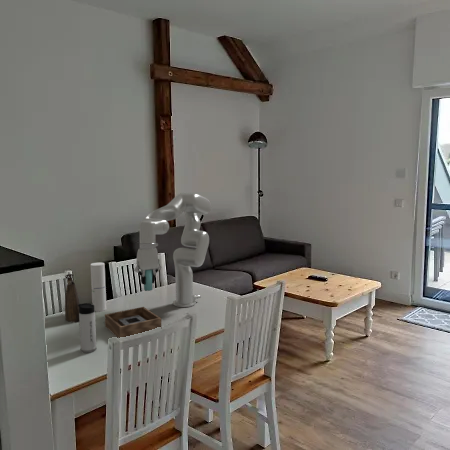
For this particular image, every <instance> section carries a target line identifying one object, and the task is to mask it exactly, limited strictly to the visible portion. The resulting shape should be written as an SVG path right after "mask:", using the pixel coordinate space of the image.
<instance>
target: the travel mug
mask: <svg viewBox="0 0 450 450" xmlns="http://www.w3.org/2000/svg"><path fill="white" fill-rule="evenodd" d="M78 307H79V321H80V322H79V338H80V351H81V352H82V353H85V354H89V353H90V354H91V353H94V352H95V351H97V333H96V332H97V330H96V312H95V307H94V305H93V304H92V303H90V302H89V303H88V302H86V303H85V302H84V303H79V305H78Z"/></svg>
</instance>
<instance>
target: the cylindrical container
mask: <svg viewBox="0 0 450 450" xmlns="http://www.w3.org/2000/svg"><path fill="white" fill-rule="evenodd" d="M105 265H106V264H105V262H99V261H98V262H92V263H90V281H91V282H90V283H91V286H90V287H91V302H92V303H91V304H93V305H94V307H95V311H96V312H97V313H98V312H99V311H100V312H104V311H107V293H106V292H107V291H106V290H107V289H106V288H107V287H106V268H105ZM96 312H95V313H96Z"/></svg>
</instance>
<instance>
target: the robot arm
mask: <svg viewBox="0 0 450 450" xmlns="http://www.w3.org/2000/svg"><path fill="white" fill-rule="evenodd" d="M211 210H212V203H211V201H210V200H209V198H207V197H205V196H202V195H200V194H199V193H194V192H193V193H191V192H190V193H189V192H182V193H178V194H177V195H175V197H173V198H172V200H170V201H169V202H168V203H167V204H166V205H163V206H162V207H159V208H156V209H154V210H153V211H150V212H149V213H148V214H147V215H146V216H145V217H144V218H143V219H142V220H141V221H140V222H139V248H138V250H137V253H136V263H135V264H136V266H135V268H134V269H133V271H134V272H135V273H137V274H138V275H139V276H140V283H141V284H142V285H143V286H144V285H145V284H146V277H145V270H151V269H152V284H155V281H156V275H157V273H158V272H159V270H161V269H162V266H161V264H160V263H159V262H160V261H159V254H158V253H159V252H158V248H157V247H158V246H159V243H158V242H157V241H156V238H157V237H156V235H165V234H167V233H168V232H169V229H170V223H169V222H168V221H172V220H176V219H178V218H179V217H180V215H182V213H183V212H184V217H185V224H184V228H183V232H182V235H181V238H180V244H181V245H182V246H184V247H178V248H176V249H175V250H174V251H173V253H172V254H173V255H172V259H173V263H174V271H175V273H174V274H175V299H174V300H173V302H172V304H173V306H174V307H177V308H188V307H189V308H190V307H193V306H195V305H196V300H197V299H198V300H199V299H201V298H202V297H201V295H200V294H197V295H196V294H194V286H193V285H194V282H193V281H194V277H193V275H194V273H193V269H192V268H193V267H194V268H199V267H201V266H202V265H203V264H204V262H205V259H206V255H207V251H208V248H209V246H210V245H209V244H210V236H209V234H208V232H207V231H204V230H200V228H201V225H202V224H201V222H202V221H201V220H200V217H199V215H207V214H209V213H210V212H211Z"/></svg>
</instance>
